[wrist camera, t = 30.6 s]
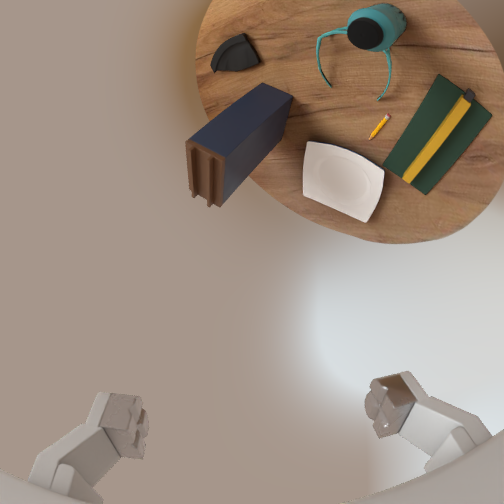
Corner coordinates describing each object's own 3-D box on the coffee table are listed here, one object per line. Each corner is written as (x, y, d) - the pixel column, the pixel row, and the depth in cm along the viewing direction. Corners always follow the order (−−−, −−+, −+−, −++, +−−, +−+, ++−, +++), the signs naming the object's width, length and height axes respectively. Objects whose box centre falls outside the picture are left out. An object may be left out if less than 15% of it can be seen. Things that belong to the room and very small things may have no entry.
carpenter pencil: (467, 86, 33) (467, 89, 32) (475, 93, 32) (476, 97, 32) (403, 173, 56) (401, 178, 55) (410, 178, 56) (409, 184, 55)
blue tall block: (262, 82, 59) (180, 145, 47) (293, 95, 57) (217, 165, 46) (254, 126, 71) (185, 193, 60) (281, 139, 70) (216, 211, 59)
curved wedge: (205, 49, 58) (201, 51, 57) (246, 31, 49) (242, 33, 48) (220, 76, 63) (216, 79, 62) (262, 62, 54) (258, 65, 53)
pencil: (391, 115, 48) (390, 116, 48) (370, 140, 56) (369, 142, 56) (387, 112, 48) (387, 114, 48) (367, 138, 56) (366, 140, 56)
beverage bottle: (367, 26, 36) (329, 48, 27) (376, -4, 30) (340, 2, 21) (402, 41, 34) (380, 70, 26) (413, 11, 28) (397, 24, 20)
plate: (308, 130, 63) (303, 136, 62) (392, 162, 56) (389, 169, 55) (303, 190, 80) (299, 196, 79) (371, 219, 74) (368, 226, 72)
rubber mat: (438, 73, 35) (438, 74, 35) (492, 114, 33) (492, 115, 33) (382, 164, 58) (382, 165, 58) (425, 194, 57) (425, 195, 56)
